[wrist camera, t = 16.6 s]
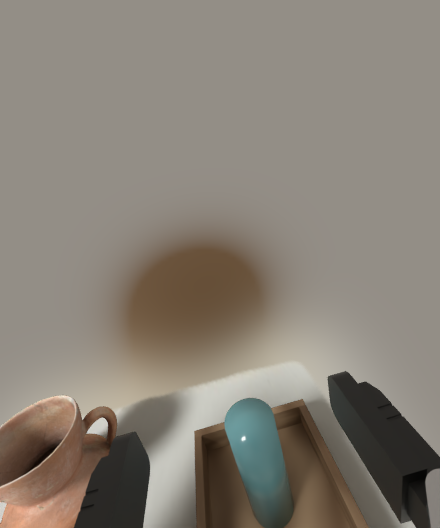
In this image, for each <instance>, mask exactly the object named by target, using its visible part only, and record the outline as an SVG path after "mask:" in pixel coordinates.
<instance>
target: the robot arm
mask: <svg viewBox="0 0 440 528" xmlns="http://www.w3.org/2000/svg"><path fill="white" fill-rule="evenodd" d="M328 386H329V395H330V403H331V407H332V410H333V412H334V415H335V417H336V418H337V420H338V422H339V423H340V425H341V427H342V428H343V430H344V432H345V433H346V435H347V437H348V438H349V440H350V441H351V443H352V445H353V446H354V448H355V450H356V451H357V453H358V454H359V456H360V458H361V459H362V461H363V463H364V464H365V466H366V467H367V469H368V471H369V472H370V474H371V476H372V477H373V479H374V480H375V482H376V484H377V485H378V487H379V489H380V490H381V492H382V494H383V495H384V497H385V498H386V500H387V502H388V503H389V505H390V507H391V508H392V510H393V511H394V513H395V515H396V516H397V518H398V520H399V521H400V523H404V522H408V521H411V520H412V522H413V523H414V525H415V527H416V528H440V457H439V456H438V455H437V454H436V452H435V451H434V450H433V449H432V448H431V447H430V446H429V445H428V444H427V442H426V441H425V440H424V439H423V438H422V437H421V436H420V435H419V433H418V432H417V431H416V430H415V429H414V428H413V427H412V426H411V425H410V424H409V422H408V421H407V420H406V419H405V418H404V417H402V416H401V413H400V412H399V411H398V410H397V409H396V408H395V407H394V406H392V404H391V402H390V401H389V400H388V399H387V398H386V397H385V396H384V395H383V394H382V392H381V391H380V390H378V389H377V388H375V387H373V386H372V385H370V384H369V383H367V382H362V383H359V384H358V383H357V382H356V381H355V380H354V379H353V377H352V376H351V375H350V374H349V373H348V372H346V371H345V372H341V373H338V374H334V375H331V376H328ZM149 476H150V462H149V457H148V455H147V453H146V451H145V449H144V447H143V445H142V443H141V441H140V439H139V437H138V435H137V434H136V432H131V433H128V434H124V435H121V436H117V437H115V438H114V439H113V441H112V444H111V447H110V451H109V454H108V456H105V457H102V458H101V459H100V461H99V463H98V464H97V466H96V467H95V469H94V471H93V472H92V474H91V477H90V480H89V483H88V486H87V489H86V492H85V493H86V494H85V496H84V498H83V501H82V504H81V507H80V512H79V513H78V516H77V519H76V522H75V525H74V528H143V522H144V514H145V507H146V499H147V491H148V484H149Z"/></svg>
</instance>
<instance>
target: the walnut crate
mask: <svg viewBox="0 0 440 528" xmlns="http://www.w3.org/2000/svg"><path fill="white" fill-rule="evenodd" d="M271 410H272V411H273V414H274V418H275V423H276V427H277V431H278V435H279V440H280V444H281V448H282V453H283V457H284V461H285V466H286V470H287V474H288V479H289V483H290V487H291V491H292V496H293V501H294V511H293V515H292V518H291V520H290V521H289V523H288V524H287V525H286V526H285V527H283V528H369V527H368V525H367V523H366V521H365V519H364V517H363V515H362V514H361V512H360V510H359V508H358V506H357V504H356V502H355V500H354V498H353V496H352V494H351V492H350V490H349V488H348V486H347V484H346V483H345V481H344V479H343V477H342V475H341V473H340V471H339V469H338V467H337V465H336V463H335V461H334V459H333V457H332V455H331V453H330V452H329V450H328V448H327V446H326V444H325V442H324V440H323V438H322V436H321V434H320V432H319V430H318V428H317V426H316V424H315V423H314V421H313V419H312V417H311V415H310V413H309V411H308V409H307V407H306V405H305V403H304V401H303V399H301V400H298V401H294V402H291V403H288V404H284V405H281V406H277V407H274V408H271ZM224 423H225V422H223V423H220V424H217V425H213V426H210V427H207V428H203V429H200V430H196V431H194V432H195V475H196V519H197V528H264V527H263V526H261V525H260V524H259V523H258V521H257V520H256V519H255V517H254V515H253V512H252V509H251V506H250V503H249V500H248V497H247V494H246V491H245V488H244V485H243V482H242V479H241V476H240V473H239V470H238V467H237V464H236V461H235V458H234V455H233V452H232V449H231V446H230V443H229V440H228V437H227V434H226V431H225V425H224Z"/></svg>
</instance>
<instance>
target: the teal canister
mask: <svg viewBox="0 0 440 528" xmlns="http://www.w3.org/2000/svg"><path fill="white" fill-rule="evenodd" d="M224 425H225V431H226V434H227V437H228V440H229V443H230V446H231V449H232V452H233V455H234V458H235V461H236V464H237V467H238V470H239V473H240V476H241V479H242V482H243V485H244V488H245V491H246V494H247V497H248V500H249V503H250V506H251V509H252V512H253V515H254V517H255V519H256V520H257V521H258V523H259V524H260V525H261V526H263V527H264V528H283V527H285V526H286V525H287V524H288V523H289V521H290V520H291V518H292V515H293V511H294V501H293V496H292V491H291V487H290V483H289V479H288V474H287V470H286V466H285V461H284V457H283V453H282V448H281V444H280V440H279V435H278V431H277V427H276V423H275V418H274V414H273V411H272V410H271V408H270V407H269V405H268V404H266V403H265V402H264V401H262V400H259V399H255V398H247V399H243V400H240V401H238V402H237V403H235V404H234V405H233V406H232V407H231V408H230V409H229V411H228V412H227V414H226V417H225V423H224Z"/></svg>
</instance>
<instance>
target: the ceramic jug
mask: <svg viewBox="0 0 440 528" xmlns="http://www.w3.org/2000/svg"><path fill="white" fill-rule="evenodd" d="M102 417H103V418H105V419H106V420H107V422H108V435H107V439H106V438H104V437H102V436H100V435H97V434H86V433H87V431H88V429H89V428H90V427H91V425H92V424H93V423H94V422H95V421H96V420H98V419H99V418H102ZM116 429H117V419H116V416H115V413H114V412H113V411H112V410H111V409H110V408H108V407H104V406H103V407H97V408H95V409H93V410H92V411H90V412H89V413H88V414H87V415H86V416H85V418H84V419H83V420H82V417H81V413H80V410H79V407H78V404H77V403H76V401H75V400H74V399H73V398H72V397H69V396H66V395H62V396H53V397H50V398H48V399H44V400H41V401H38V402H36V403H35V404H32V405H30V406H28V407H27V408H25V409H24V410H22V411H20V412H19V413H17V414H16V415H14V416H13V417H12V418H11V419H10V420H8V421H7V422H6V423H5V424H3V425H2V426H1V427H0V502H4V503H7V505H6V508H5V511H4V514H3V517H2V522H1V523H0V528H74V525H75V522H76V519H77V516H78V513H79V512H80V507H81V504H82V501H83V498H84V496H85V494H86V493H85V492H86V489H87V486H88V483H89V480H90V477H91V474H92V472H93V471H94V469H95V467H96V466H97V464H98V463H99V461H100V459H101V458H102V457H105V456H108V454H109V451H110V447H111V444H112V441H113V439H114V438H115V435H116Z"/></svg>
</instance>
